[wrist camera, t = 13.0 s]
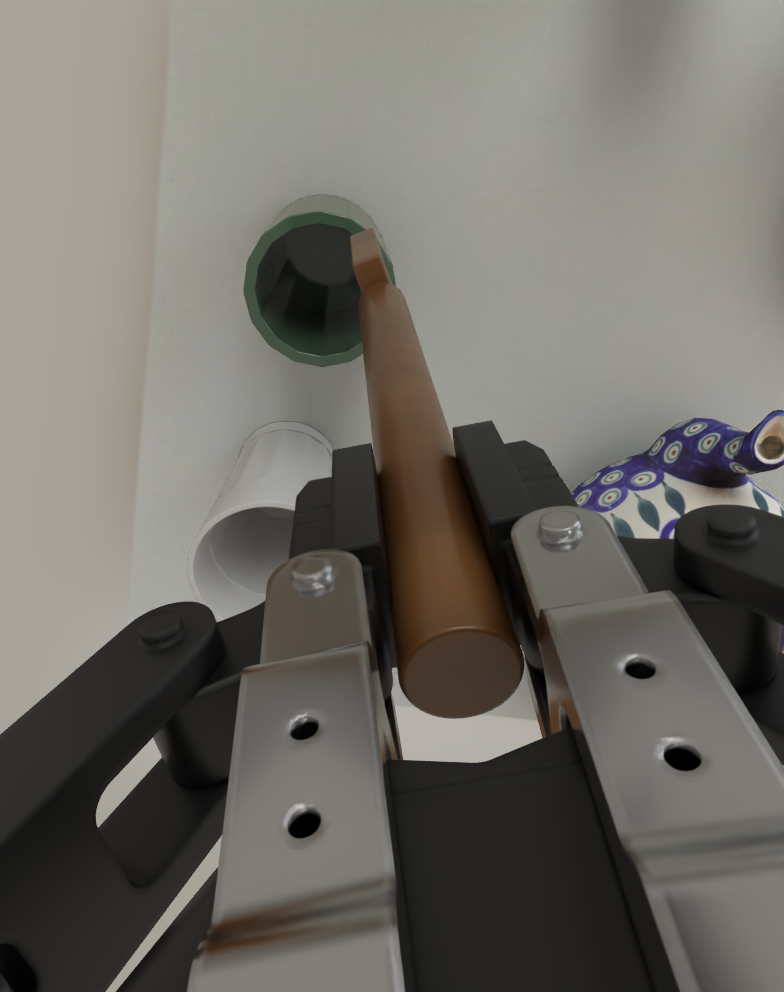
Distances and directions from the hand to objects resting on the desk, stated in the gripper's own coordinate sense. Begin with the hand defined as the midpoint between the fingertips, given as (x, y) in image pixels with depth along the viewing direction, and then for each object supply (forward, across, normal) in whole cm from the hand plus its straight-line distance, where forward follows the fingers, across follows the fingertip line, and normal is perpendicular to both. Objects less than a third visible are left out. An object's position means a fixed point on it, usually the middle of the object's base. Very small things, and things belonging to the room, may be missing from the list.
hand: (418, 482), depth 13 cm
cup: (+29, +8, +12) cm, 32 cm away
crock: (+29, +2, 0) cm, 29 cm away
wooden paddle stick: (+17, 0, -1) cm, 17 cm away
